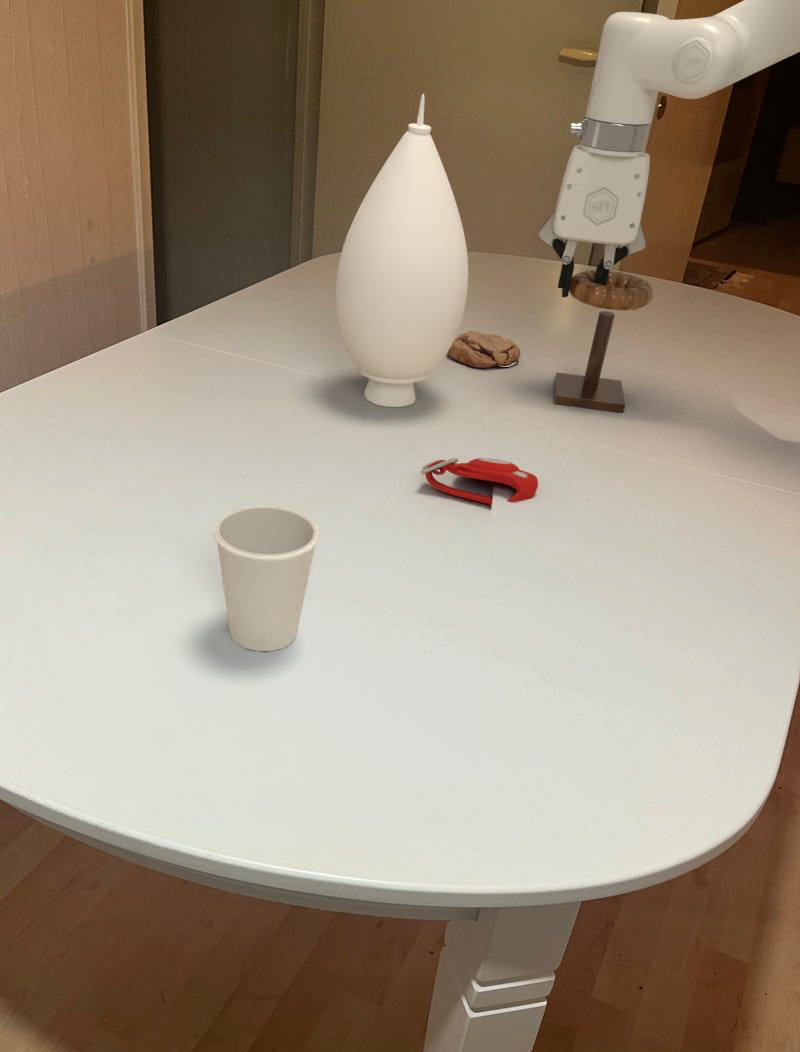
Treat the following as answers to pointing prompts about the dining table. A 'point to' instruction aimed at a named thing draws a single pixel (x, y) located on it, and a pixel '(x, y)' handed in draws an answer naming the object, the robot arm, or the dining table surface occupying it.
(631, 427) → the dining table surface
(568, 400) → the peg
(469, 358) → the cookie
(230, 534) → the dixie cup
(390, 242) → the lamp
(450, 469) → the tracker holder
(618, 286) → the ring
